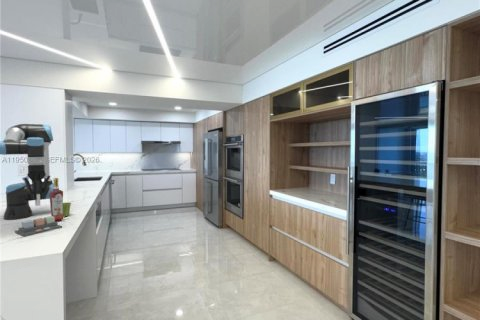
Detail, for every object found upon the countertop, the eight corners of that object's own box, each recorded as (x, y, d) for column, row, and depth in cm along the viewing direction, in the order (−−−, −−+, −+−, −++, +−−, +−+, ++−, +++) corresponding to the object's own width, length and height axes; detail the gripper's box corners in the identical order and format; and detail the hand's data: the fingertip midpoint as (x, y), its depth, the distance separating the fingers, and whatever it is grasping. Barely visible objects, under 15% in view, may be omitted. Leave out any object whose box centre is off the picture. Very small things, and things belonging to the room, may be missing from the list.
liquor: (53, 222, 162) (51, 179, 161) (48, 221, 166) (46, 178, 165) (66, 220, 168) (64, 177, 167) (60, 218, 172) (59, 177, 171)
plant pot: (54, 218, 172) (53, 205, 172) (56, 215, 181) (56, 203, 180) (70, 216, 177) (70, 204, 176) (72, 213, 185) (72, 201, 185)
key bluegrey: (21, 227, 142) (21, 221, 142) (30, 225, 146) (30, 220, 146) (25, 228, 140) (24, 222, 140) (33, 226, 144) (33, 221, 144)
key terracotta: (33, 225, 147) (33, 219, 147) (41, 223, 150) (41, 218, 150) (36, 226, 145) (36, 220, 145) (44, 224, 148) (44, 218, 148)
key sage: (43, 222, 151) (43, 217, 151) (51, 221, 155) (51, 216, 154) (46, 223, 149) (46, 218, 149) (54, 222, 153) (54, 216, 152)
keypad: (14, 232, 143) (14, 227, 143) (51, 224, 159) (51, 219, 158) (24, 236, 137) (24, 231, 136) (62, 227, 152) (61, 222, 152)
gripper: (24, 165, 138) (26, 208, 139) (52, 164, 150) (53, 204, 150) (19, 165, 142) (20, 206, 143) (46, 163, 153) (47, 202, 154)
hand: (37, 205), depth 147 cm, fingers closed
